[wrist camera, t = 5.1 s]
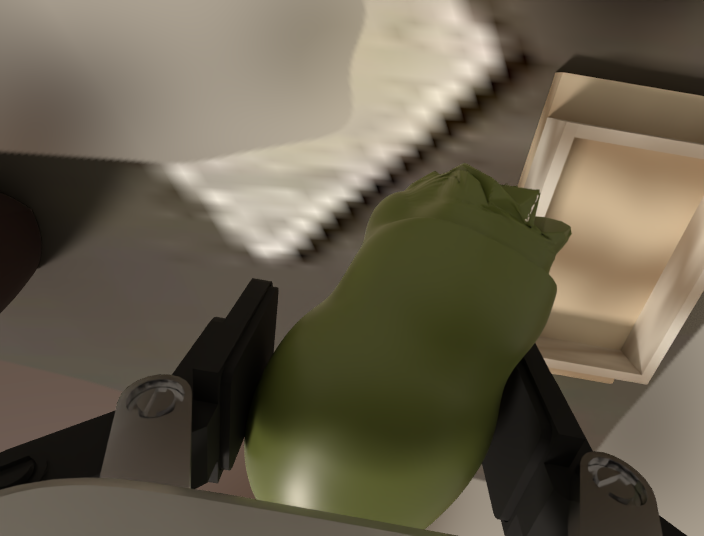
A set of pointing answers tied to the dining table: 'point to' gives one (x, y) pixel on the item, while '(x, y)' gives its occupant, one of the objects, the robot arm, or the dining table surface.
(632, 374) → the open rectangular box
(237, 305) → the robot arm
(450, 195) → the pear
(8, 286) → the mug
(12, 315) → the dining table surface
